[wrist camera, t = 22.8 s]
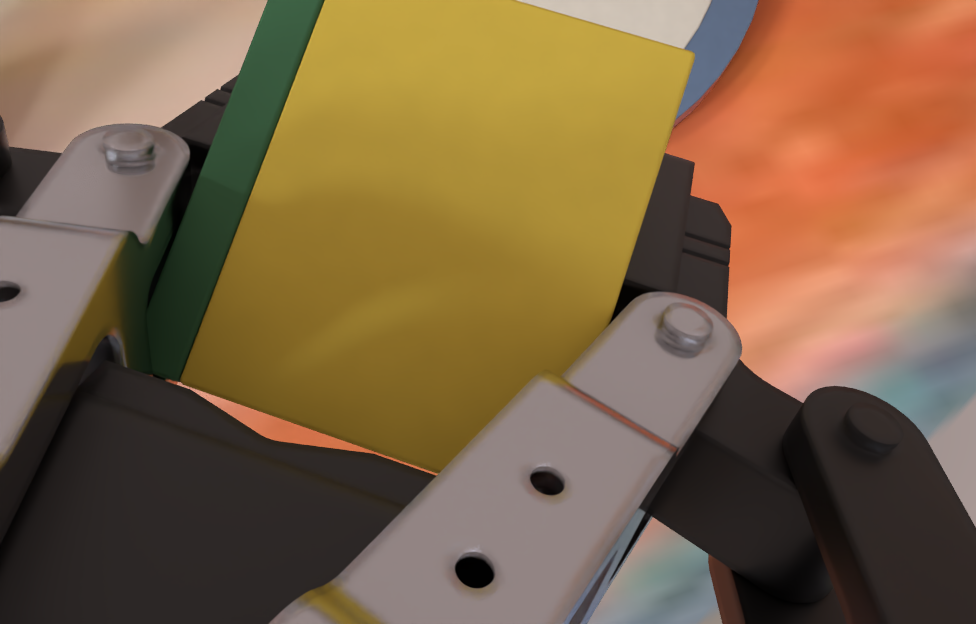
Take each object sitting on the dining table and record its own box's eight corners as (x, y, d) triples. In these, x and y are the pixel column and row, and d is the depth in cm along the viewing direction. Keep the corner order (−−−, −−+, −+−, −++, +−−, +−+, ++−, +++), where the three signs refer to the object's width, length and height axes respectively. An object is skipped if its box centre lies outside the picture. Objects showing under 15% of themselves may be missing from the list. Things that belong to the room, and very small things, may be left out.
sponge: (322, 390, 16) (122, 364, 8) (403, 164, 17) (292, -68, 9) (537, 465, 16) (549, 513, 8) (613, 230, 16) (697, 51, 8)
